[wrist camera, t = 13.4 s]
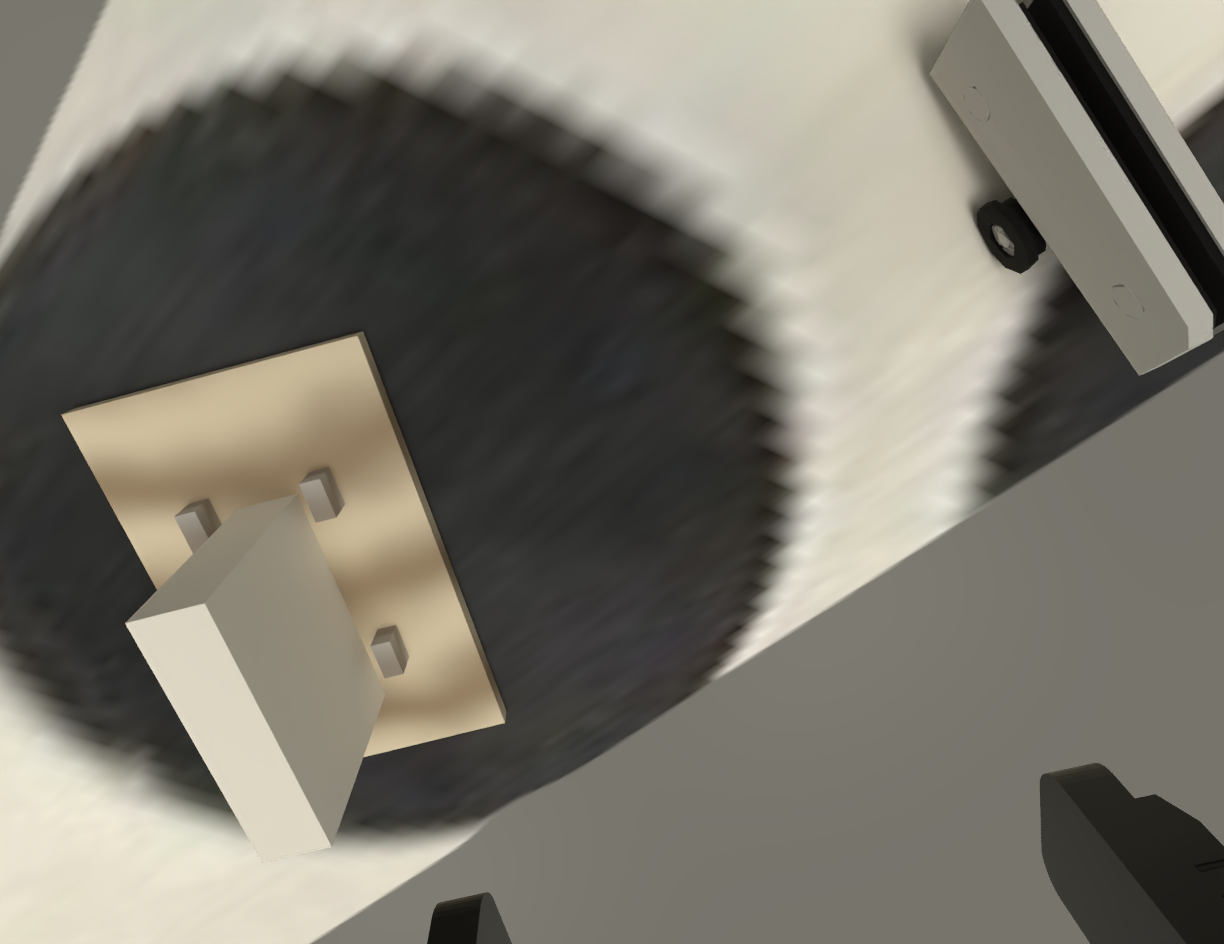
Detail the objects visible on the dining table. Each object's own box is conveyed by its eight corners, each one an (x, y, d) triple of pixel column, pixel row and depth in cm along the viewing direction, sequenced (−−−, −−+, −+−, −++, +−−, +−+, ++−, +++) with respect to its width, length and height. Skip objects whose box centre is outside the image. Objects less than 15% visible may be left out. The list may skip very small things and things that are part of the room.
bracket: (897, 119, 35) (1085, 391, 35) (960, -1, 26) (1223, 374, 25) (976, 63, 35) (1169, 339, 34) (1072, -81, 25) (1345, 301, 24)
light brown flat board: (74, 408, 36) (40, 425, 33) (363, 331, 35) (348, 342, 33) (268, 768, 44) (251, 802, 41) (506, 710, 43) (502, 741, 41)
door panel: (221, 513, 37) (104, 628, 28) (297, 493, 37) (204, 603, 27) (317, 710, 41) (244, 867, 32) (385, 693, 41) (331, 846, 32)
